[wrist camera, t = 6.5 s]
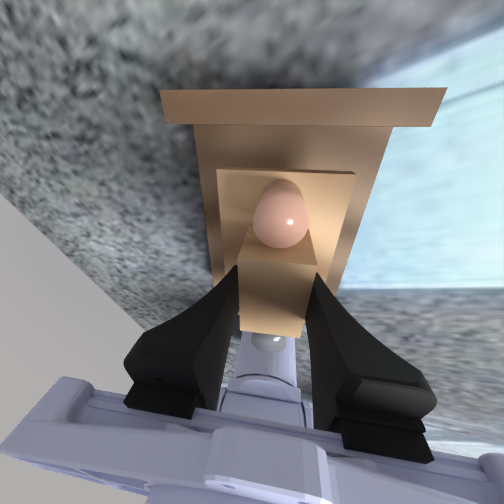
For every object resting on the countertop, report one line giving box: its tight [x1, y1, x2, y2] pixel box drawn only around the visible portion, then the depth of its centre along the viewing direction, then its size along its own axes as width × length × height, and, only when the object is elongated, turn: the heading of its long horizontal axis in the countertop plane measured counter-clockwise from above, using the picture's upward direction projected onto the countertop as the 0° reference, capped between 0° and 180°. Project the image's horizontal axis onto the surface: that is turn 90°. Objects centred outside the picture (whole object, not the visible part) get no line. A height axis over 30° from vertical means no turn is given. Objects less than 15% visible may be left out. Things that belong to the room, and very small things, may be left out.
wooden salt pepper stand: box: [216, 166, 357, 353], centre depth 13 cm, size 13×8×5 cm, turn 179°
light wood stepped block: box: [159, 87, 448, 296], centre depth 17 cm, size 18×14×6 cm
